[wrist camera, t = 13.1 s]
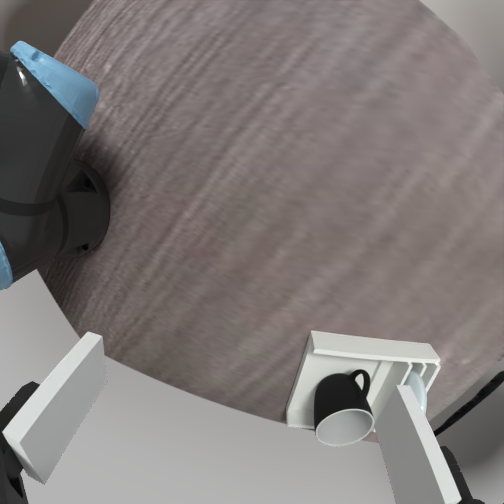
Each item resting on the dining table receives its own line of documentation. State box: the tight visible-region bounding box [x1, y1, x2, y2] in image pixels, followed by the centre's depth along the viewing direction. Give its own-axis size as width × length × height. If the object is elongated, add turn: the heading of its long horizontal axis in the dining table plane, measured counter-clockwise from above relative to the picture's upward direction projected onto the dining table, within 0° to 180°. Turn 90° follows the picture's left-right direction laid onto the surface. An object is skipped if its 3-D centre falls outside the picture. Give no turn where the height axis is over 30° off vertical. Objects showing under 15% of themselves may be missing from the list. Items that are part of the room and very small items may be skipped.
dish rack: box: [286, 330, 441, 432], centre depth 47 cm, size 22×17×6 cm
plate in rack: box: [403, 370, 427, 415], centre depth 42 cm, size 1×13×13 cm, turn 170°
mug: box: [314, 369, 374, 446], centre depth 44 cm, size 12×9×10 cm
